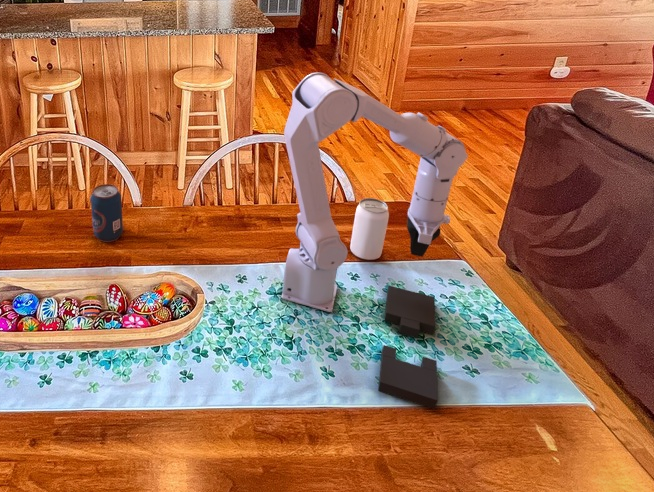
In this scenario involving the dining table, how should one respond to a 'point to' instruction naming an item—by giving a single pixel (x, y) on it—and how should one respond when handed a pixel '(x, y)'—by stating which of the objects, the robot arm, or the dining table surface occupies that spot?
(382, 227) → the can
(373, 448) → the dining table surface
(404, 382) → the notch pad
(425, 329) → the tab pad
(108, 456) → the dining table surface
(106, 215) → the soda can
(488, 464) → the dining table surface
